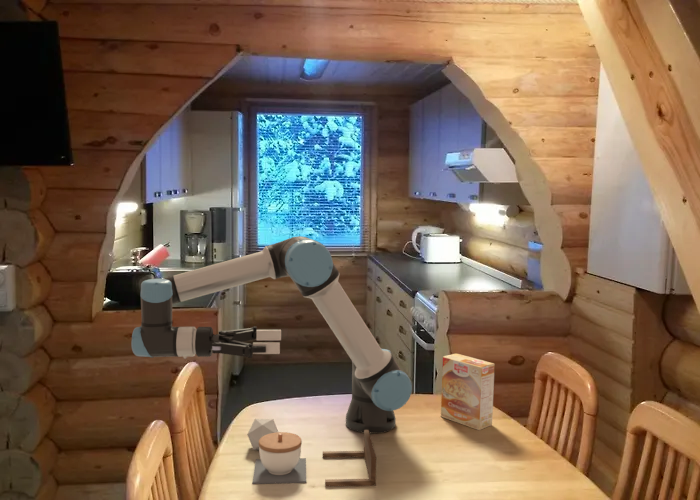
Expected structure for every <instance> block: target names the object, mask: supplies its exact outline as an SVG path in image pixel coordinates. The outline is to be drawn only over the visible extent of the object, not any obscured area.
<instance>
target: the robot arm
mask: <svg viewBox="0 0 700 500" xmlns="http://www.w3.org/2000/svg"><path fill="white" fill-rule="evenodd" d="M286 277H289V278H290V279H291V280H292V282H293V283H294V285H295V287H296V288H297V289H298V291H299V293H300V295H302V297H303V298H306V299H310V300H312V302H313V303H314V305H315V307H316V308H317V310H318V312H319V313H320V314H321V316H322V317H323V319H324V320H325V321H326V324H328V326H329V328H330V330H331V331H332V333H333V334H334V336H335V337H336V338H337V341H338V342H339V343H340V345H341V347H342V348H343V349H344V351H345V352H346V354H347V355H348V357H349V358H350V360H351V365H352V367H351V368H352V369H351V370H352V371H351V373H352V374H351V380H352V381H351V389H352V390H351V400H350V403H349V405H348V408H347V412H346V415H345V425H346V427H347V428H349V429H350V430H352V431H354V432H357V433H358V432H360V433H363V434H364V430H369V433H370V434H382V433H385V432H389V431H392V430H393V429H395V428H396V421H397V420H396V419H397V418H396V414H395V411H397V410H399V409H401V408H402V407H404V405H406V404H407V402H408V401H409V399H410V397H411V394H412V391H413V384H412V380H411V379H410V377H409V375H408V374H407V373H406V372H405V371H403V370H402V369H401V368H400V366H399V364H398V362H397V361H396V360H395V358H394V356H393V355H392V352H391V350H389V349H387V348H386V349H385V348H381V346H380V345H379V343H378V341H377V340H376V338H375V336H374V335H373V334H372V332H371V331H370V329H369V327H368V326H367V324H366V323H365V321H364V319H363V318H362V316H361V315H360V313H359V311H358V310H357V309H356V307H355V306H354V304H353V303H352V301H351V299H350V297H349V296H348V294H347V293H346V292H345V290H344V289H343V287H342V285H341V283H340V282H339V279H340V272H339V270H338V269H337V267H336V265H335V263H334V261H333V257H332V255H331V252H330V250H329V249H328V248H327V247H326V245H324V244H323V243H321V242H320V241H317V240H316V239H315V240H314V239H311V238H309V237H306V236H300V235H299V236H293V237H289V238H287V239H284V240H282V241H278V242H276V243H273V244H270V245H266V246H264V247H263V249H262V250H261V251H257V252H254V253H251V254H247V255H243V256H239V257H236V258H233V259H228V260H225V261H220V262H217V263H213V264H209V265H207V266H204V267H200V268H197V269H192V270H188V271H186V272H182V273H178V274H174V275H171V276H167V277H164V278H159V277H158V278H151V279H145V280H143V281H142V282H141V284H140V311H141V312H140V313H141V322H140V323H141V325H140V326H136V327H134V329H133V331H132V335H131V350H132V353H133V354H134V355H135V356H136V357H141V358H142V357H146V358H163V357H164V358H166V357H167V358H169V357H171V358H173V357H177V358H179V357H182V359H187V358H188V357H195V356H197V357H198V358H199V357H200V358H204V357H206V358H207V357H212V355H213V354H223V355H231V356H238V357H246V358H247V357H248V358H250V359H252V358H253V355H280V354H281V353H280V352H281V342H279V341H282V330H281V329H258V327H257V326H252V327H250V328H249V327H248V328H240V329H230V330H219V331H218V334H217V333H216V334H214V329H213V327H211V326H198V327H197V328H196V326H173V305H176V304H179V303H181V302H182V303H183V302H185V301H189V300H192V299H196V298H199V297H202V296H203V297H204V296H206V295H207V296H208V295H210V294H214V293H218V292H221V291H223V290H224V291H225V290H228V289H231V288H235V287H238V286H239V287H240V286H243V285H247V284H248V283H249V284H250V283H253V282H255V281H259V280H263V279H267V278H271V279H273V280H277V279H281V278H286ZM252 340H253V341H254V340H256V341H262V342H252V343H248V341H252ZM264 341H265V342H264ZM267 341H270V342H267ZM271 341H278V342H271Z"/></svg>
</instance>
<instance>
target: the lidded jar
mask: <svg viewBox="0 0 700 500" xmlns="http://www.w3.org/2000/svg"><path fill="white" fill-rule="evenodd" d="M302 443H303V441H302V438H301V436H299V435H298V434H295V433H291V432H288V431H287V432H284V431H283V432H282V431H278V432H276V433H270V434H267V435H265V436H263V437H261V438H260V440H259V450H258V452H259V459H261V462H262V464H263V466H264V467H265V468H266V469H267V470H268V472H269V473H271V474H273V475H285V474H288V473H290V472H291V471H292V469H293V468H294V467H295V466H296V465H297V464H298V461H299V459H300V458H301V454H302Z"/></svg>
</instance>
